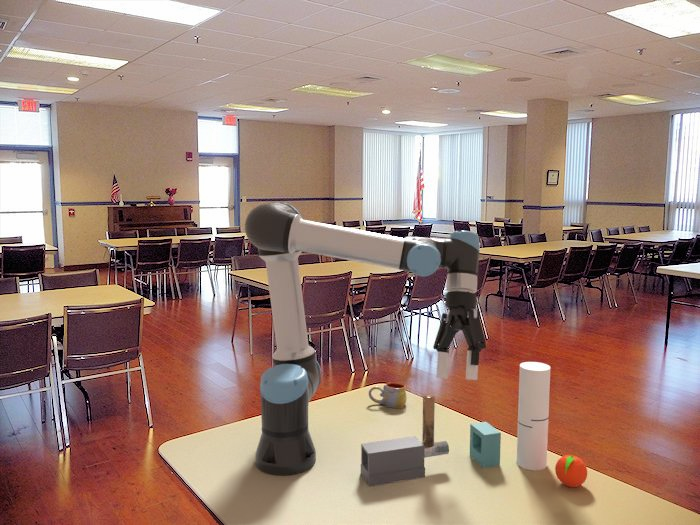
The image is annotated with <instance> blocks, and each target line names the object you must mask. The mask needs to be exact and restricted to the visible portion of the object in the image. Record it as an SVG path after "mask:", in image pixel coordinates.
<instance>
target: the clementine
mask: <svg viewBox="0 0 700 525" xmlns="http://www.w3.org/2000/svg"><path fill="white" fill-rule="evenodd" d="M554 472H555V475H556V477H557V479H558V480H559V481H560V483H562V484H563V485H564V486H567V487H569V488H576V487H580V486H582V484H584V483H585V482H586V480H587V478H588V468H587V466H586V463H585V462H584V461H583V460H582V459H581V458H580V457H578V456H576V455H574V454H573V455H572V454H566V455H564V456H563V455H562V456H561V457H560V458H559V459H557V461H556V463H555V467H554Z"/></svg>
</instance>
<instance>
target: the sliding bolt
mask: <svg viewBox="0 0 700 525" xmlns="http://www.w3.org/2000/svg"><path fill="white" fill-rule="evenodd" d="M435 400H436V399H435V395H432V394H425V395H423V396H422V441H421V442H422V443H423V444H424V445H425V451H424V459H425V458H431V457H437V456H445V455H449V454H450V453H449V452H450V447H449V443H448V442H447V440H440V441H435V412H436V411H435V407H436V406H435V403H436V402H435Z"/></svg>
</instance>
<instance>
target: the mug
mask: <svg viewBox="0 0 700 525" xmlns="http://www.w3.org/2000/svg"><path fill="white" fill-rule="evenodd" d="M406 387H407V386H406V384H404V383H403V384H402V383H398V382H388V383H386V384H384V385H383V387H382V388H381V387H380V386H373V387H371V388H370V389H369V390H368V397H369V399H370V400H371V401H372V402H374V403H377V404H379V405H384V406H386V407H388V408H391V409H404V408H405V407H404V406H405V405H406V404H407V399H408V398H407V392H406V389H407V388H406ZM374 390H379V391H380V393H379V396H380V397H381V398H382V399H377V398H375V397H373V394H372V392H373V391H374Z"/></svg>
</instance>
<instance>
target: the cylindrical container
mask: <svg viewBox="0 0 700 525" xmlns="http://www.w3.org/2000/svg"><path fill="white" fill-rule="evenodd" d="M518 375H519V377H518V379H519V380H518V383H519V384H518V386H519V387H518V410H517V434H516V435H517V437H516V438H517V439H516V442H517V443H516V464H517V465H518V466H519V467H521V468H522V469H525V470H528V471H536V472H537V471H542V470H545V469H546V468H547V463H548V462H547V461H548V439H549V436H548V435H549V414H550V394H551V393H550V390H551V388H550V385H551V366H550V365H549V364H547V363H544V362H539V361H538V362H537V361H525V362H524V361H523V362H521V363H520V364H519V374H518Z"/></svg>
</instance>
